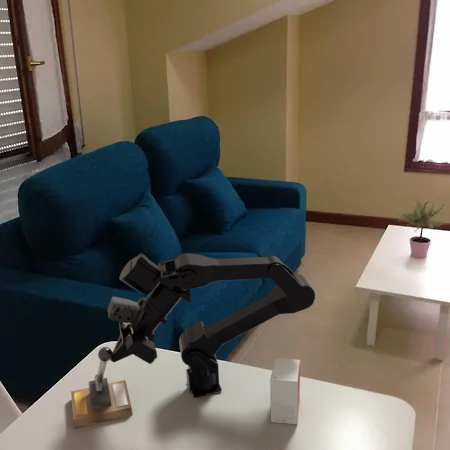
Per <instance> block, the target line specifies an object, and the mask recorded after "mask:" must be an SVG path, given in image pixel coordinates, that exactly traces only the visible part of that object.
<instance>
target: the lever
mask: <svg viewBox="0 0 450 450" xmlns="http://www.w3.org/2000/svg"><path fill="white" fill-rule="evenodd" d="M112 352H113V350H112V349H111V348H110V347H108V346H103V347H101V348H100V349H99V350H98V352H97V357H98V359H99V360H100V361H99V366H98V370H97V373H96V375H94V380H95V384H96V391H97V393H101V392H102V385H101V383H102V381H103V378H105V377H104V376H105V372H106V367H107V364H108V362H109V361H111V360H110V359H111V358H112V355H113V353H112Z"/></svg>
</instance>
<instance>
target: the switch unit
mask: <svg viewBox="0 0 450 450" xmlns="http://www.w3.org/2000/svg"><path fill="white" fill-rule="evenodd" d="M101 385H102V392H101V393H97V391H96V384H95V379H93V380H89V381H88V387H86V388H81V389H77V390H73V391H70V392H71V394H70V395H71V406H72V407H71V408H72V409H71V410H72V421H73V427H74V429H77V428H82V427H86V426H91V425H94V424H95V425H96V424H98V423H104V422H107V421H112V420H116V419H120V418H121V419H122V418H125V417H129V416H133V408H132V404H131V403H132V402H131V399H130V394H129V391H128V390H129V389H128V385H127V382H126V379H123V380H119V381H114V382H110V383H109V382H108V377H103V381H102V383H101Z"/></svg>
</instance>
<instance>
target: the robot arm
mask: <svg viewBox="0 0 450 450" xmlns="http://www.w3.org/2000/svg"><path fill="white" fill-rule="evenodd" d="M267 279H270V280H271V281H273V282H274V283H275V284H276V285H275V286H274V287H273V289H272V290H271V291H270V293H269V294H268V295H266V296H264V297H262V298H261V299H258V300H257V301H255V302H253V303H251V304H249V305H247V306H245V307H243V308H242V309H240V310H238V311H236V312H234V313H232V314H231V315H229V316H227V317H225V318H223V319H221V320H219V321H217V322H215V323H213V324H206V325H205V324H204V323H203V321H202V320H199V321H197V322H196V323H195V324H193V325H191V326H189V327H188V326H187V327H185V331H183V332H182V333H181V334H180V337H179V340H178V341H179V342H178V343H179V349H180V351H179V352H180V358H181V360H182V362H183V363H184V364H185V365H187V366H188V367H187V368H186V370H185V372H186V384H187V387H188V389H189V392H191V394H192V395H193V398H199V397H203V396H207V395H212V394H215V393H221V392H222V389H223V388H222V386H221V385H220V375H219V374H220V372H219V363H218V360H217V359H218V358H217V356H216V355H217V353H218V351H219V349H220V348H221V347H222V346H223V345H225V344H226V343H229V342H230V341H232V340H234V339H236V338H238V337H240V336H241V335H243V334H246V333H247V332H249V331H251V330H253V329H254V328H257V327H258V326H261V325H262V324H265V323H266V322H267V321H270V320H272V319H273V318H276V317H277V316H279V315H288V314H292V315H293V314H296V313H299V312H302V311H305V310H307V309H309V308H311V307H312V306H313V304H314V302H315V299H316V292H315V290H314V289H313V287H312V286H311V284H310V283H309V282H308V280H307V278H306V277H305V276H303V274H300V273H295V272H293V270H291V268H290V267H288V266H287V265H286V264H285V263H283V262H282V261H281V259H280V258H279V257H277V256H276V255H268V256H260V257H259V256H258V257H236V258H235V257H234V258H233V257H231V258H212V257H208V256H205V255H202V254H196V253H187V252H186V253H181V254H179V255H178V256H177V257H176V258H174V259H169V260H166V261H161V262H159V263H158V264H155V262H154V261H151V260H150V259H149V258H148V257H147V256H146V255H145V254H143V253H142V252H141V253H139V254H138V255H137V256H135V257H133V258H132V259H130V260H129V261H128V262H127V263H126V265H125V266H124V267H123V268H122V271H121V272H120V274H119V280H120V281H121V282H123V283H125V284H126V285H128V286H129V287H131V288H132V289H134V290H135V291H136V292H138V293H139V294H141V295H143V294H144V295H147V297H144V296H141V297H140V298H139V299H138V300H137V301H133V300H132V299H128V298H127V299H126V298H123V297H120V296H119V297H117V296H112V297H111V298H110V302H109V304H108V307H107V310H106V311H107V314H108V316H107V317H108V319H109V320H111V321H114V322H116V321H117V322H118V324H119V331H120V332H119V333H120V334H119V337H118V340H117V342H116V343H115V346H114V348H113V350H112V353H113V355H112V358H111V359H110V360H109V361H111V362H113V363H116V362H119V361H121V360H123V359H125V358H127V357H128V358H129V356H133V355H134V356H135V357H137V359H138V358H139V359H141V360H142V361H143V362H146V363H147V364H149V365H152V364H154V361H155V360H157V358H158V352H157V348H156V346H155V342H153V341H152V340H150V339H154V337H155V336H156V334H155V331H156V329H157V328H158V327H159V325H160V324H161V323H162V324H164V325H166V323H167V322H168V318H167V316H168V315H169V314H170V312H171V311H172V310H173V309H174V307H176V306H177V304H178V303H179V302H180V300H181V299H183V300H184V301H185V302H187V303H188V304H190V303H191V302H192V298H191V292H192V290H195V289H200V288H204V287H206V286H207V287H208V285H210V284H213V283H216V282H223V281H224V282H225V281H227V282H228V281H230V282H231V281H244V280H245V281H248V280H249V281H250V280H267ZM149 338H150V339H149Z"/></svg>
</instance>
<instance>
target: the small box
mask: <svg viewBox="0 0 450 450" xmlns="http://www.w3.org/2000/svg"><path fill="white" fill-rule="evenodd" d="M272 366H273V367H272V373H271V376H270V379H269V386H270V387H269V388H270V389H269V390H270V391H269V393H270V394H269V395H270V401H269V402H270V422H271V423H277V424H288V425H298V423H299V421H298V420H299V411H300V402H301V360H300V359H291V358H282V357H274V359H273V365H272Z"/></svg>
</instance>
